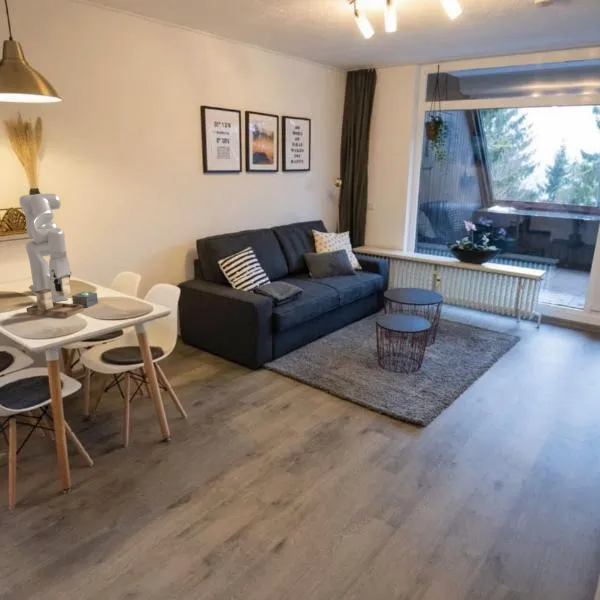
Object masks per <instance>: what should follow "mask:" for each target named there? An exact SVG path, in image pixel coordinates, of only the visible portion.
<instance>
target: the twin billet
mask: <svg viewBox="0 0 600 600" xmlns="http://www.w3.org/2000/svg"><path fill="white" fill-rule="evenodd" d="M35 296H36V303H37V304H38V309H46V310H47V309H49V308H52V307H53V302H52V294H51V289H44V288H42V289H39V290H36V295H35ZM37 304H36V305H37Z"/></svg>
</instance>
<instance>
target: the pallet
mask: <svg viewBox="0 0 600 600" xmlns="http://www.w3.org/2000/svg"><path fill="white" fill-rule="evenodd" d="M84 308H85V307H83V305H77V304H73V303H63V302H53V307H52V308H49V309H47V310H46V309H38V304H33V305H31V306H29V307H26V313H27V314H28V315H36V316H44V317H45V316H46V317H57V318H64V319H65V318H66V319H67V318H70V317H72V316H74V315H77V314H80V313H81V312H84V310H85V309H84Z"/></svg>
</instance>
